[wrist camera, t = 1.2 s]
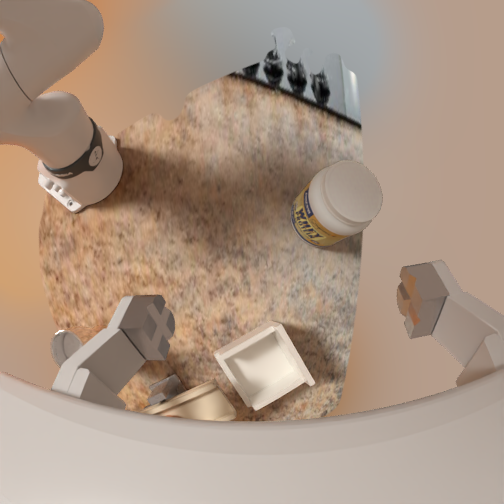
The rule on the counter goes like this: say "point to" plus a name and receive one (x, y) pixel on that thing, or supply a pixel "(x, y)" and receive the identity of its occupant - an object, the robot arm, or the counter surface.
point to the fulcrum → (166, 389)
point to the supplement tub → (336, 204)
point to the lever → (196, 404)
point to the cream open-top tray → (263, 365)
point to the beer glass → (71, 341)
